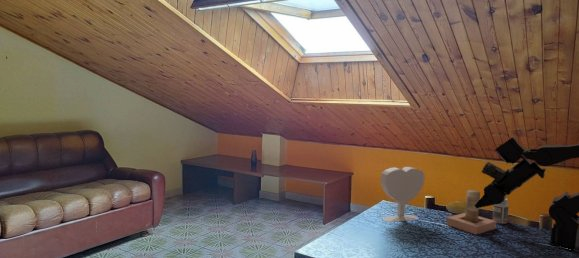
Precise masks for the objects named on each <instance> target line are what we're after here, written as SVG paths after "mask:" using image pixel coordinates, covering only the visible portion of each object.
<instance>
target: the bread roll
mask: <svg viewBox="0 0 579 258" xmlns="http://www.w3.org/2000/svg"><path fill="white" fill-rule="evenodd" d="M445 207H446V210H447V211H448V212H449V213H451V214H455V215H458V214H462V213H465V211H466V200H456V201H450V202H448V203H447V204H446V206H445Z"/></svg>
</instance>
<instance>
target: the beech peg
mask: <svg viewBox="0 0 579 258" xmlns="http://www.w3.org/2000/svg"><path fill="white" fill-rule="evenodd" d="M465 199H466V200H465V202H466V211H465V221H468V222H472V223H477V222H478V216H479V211H480V208H476V207H475V204H476V203H477V202H478V201H479V200H480V199H481V191H480V190H479V191H478V190H475V189H468V190H466V198H465Z"/></svg>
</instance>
